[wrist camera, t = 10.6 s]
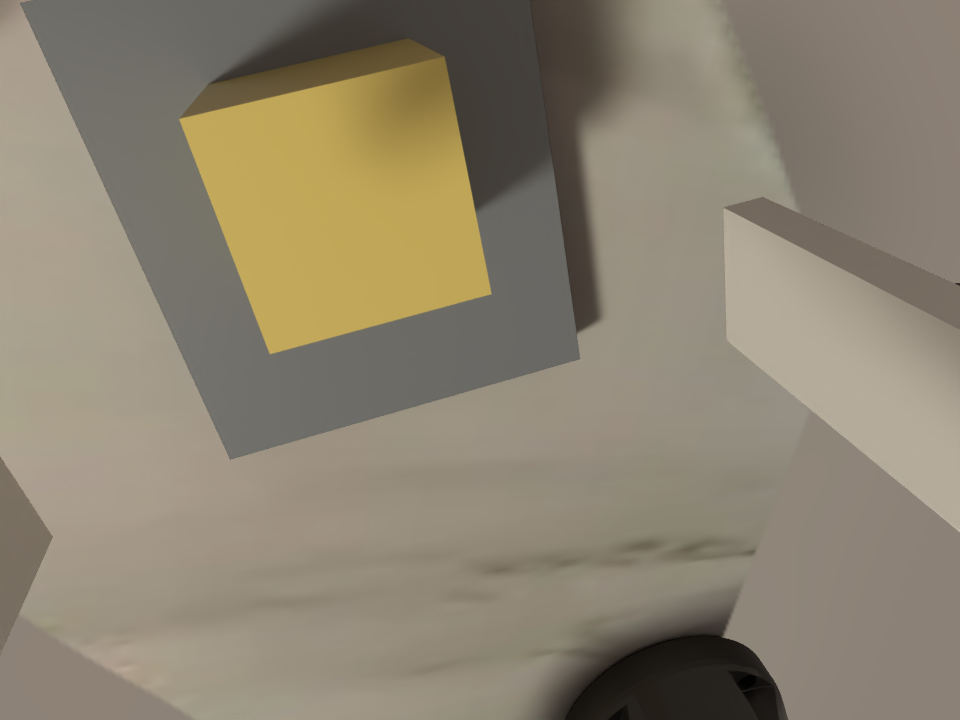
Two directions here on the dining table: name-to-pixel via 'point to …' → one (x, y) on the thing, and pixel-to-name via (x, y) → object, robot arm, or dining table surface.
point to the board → (201, 243)
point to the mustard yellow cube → (341, 190)
